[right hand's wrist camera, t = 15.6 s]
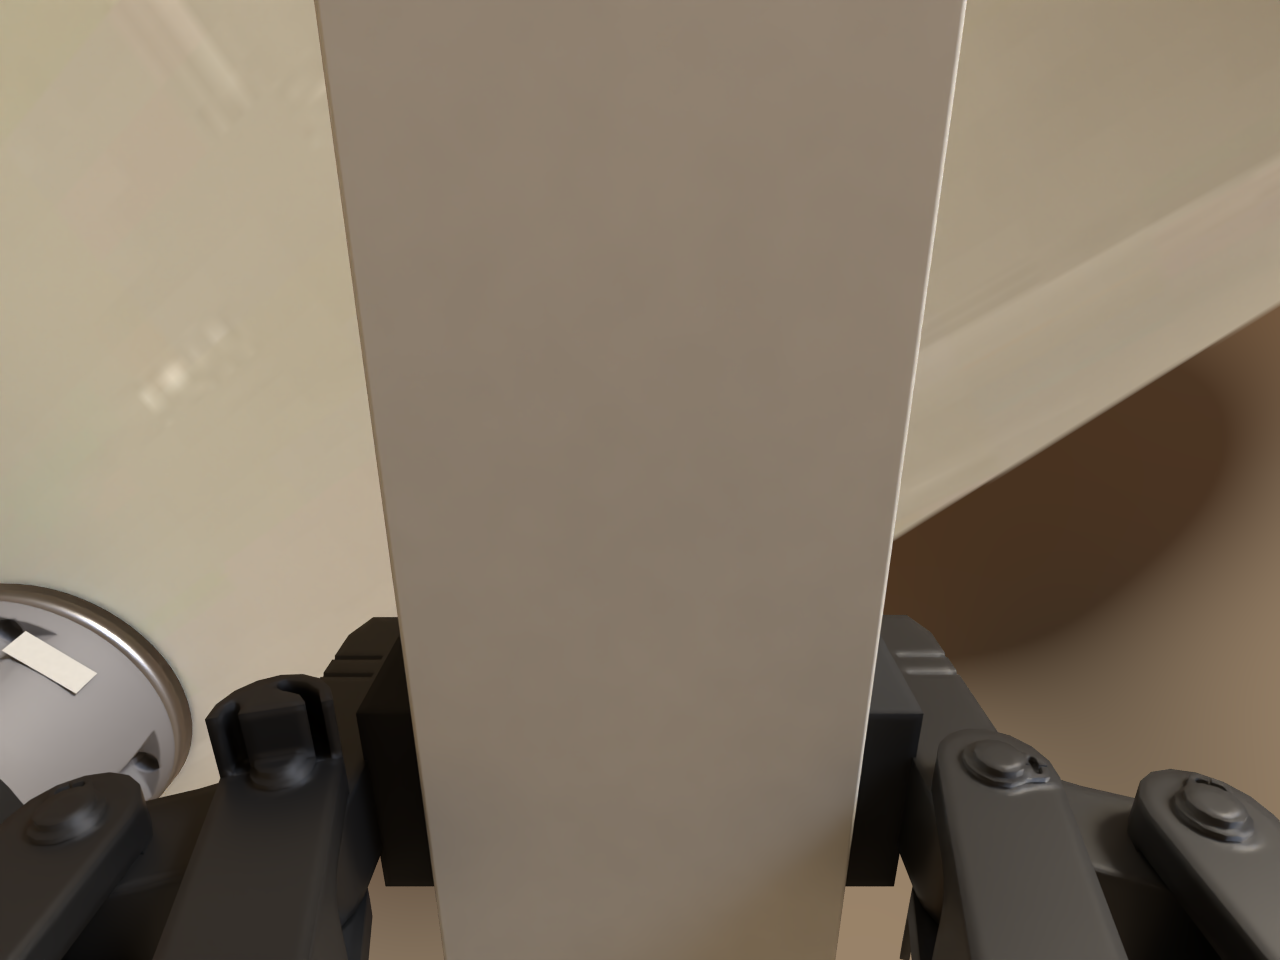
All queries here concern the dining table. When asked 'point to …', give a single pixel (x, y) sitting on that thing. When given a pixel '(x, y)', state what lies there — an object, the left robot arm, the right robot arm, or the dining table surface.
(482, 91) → the beam
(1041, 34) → the dining table surface
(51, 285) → the dining table surface
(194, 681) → the dining table surface
